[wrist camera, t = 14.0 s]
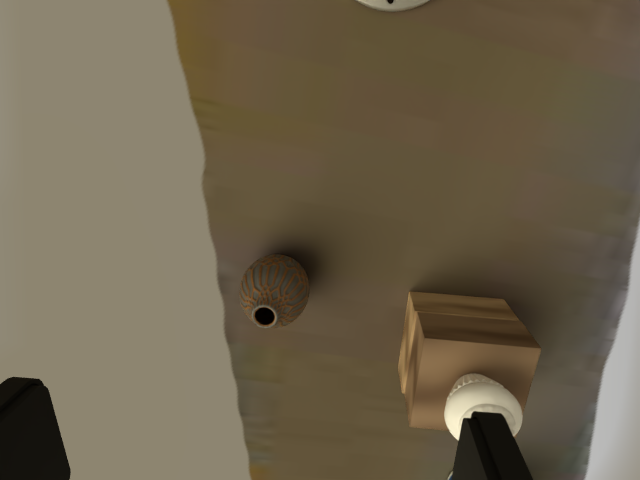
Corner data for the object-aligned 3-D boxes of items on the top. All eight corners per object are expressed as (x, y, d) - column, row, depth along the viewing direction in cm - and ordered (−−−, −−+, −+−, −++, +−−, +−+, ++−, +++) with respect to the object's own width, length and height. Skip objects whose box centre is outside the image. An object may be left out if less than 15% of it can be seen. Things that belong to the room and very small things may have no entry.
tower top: (417, 312, 40) (424, 338, 36) (521, 321, 39) (541, 348, 35) (404, 394, 43) (409, 426, 39) (500, 403, 43) (515, 437, 38)
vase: (322, 262, 43) (316, 302, 35) (296, 312, 46) (284, 361, 37) (264, 235, 43) (243, 268, 35) (240, 287, 45) (215, 330, 37)
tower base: (408, 290, 44) (414, 310, 40) (502, 297, 43) (518, 319, 39) (397, 366, 47) (402, 393, 43) (484, 374, 47) (497, 402, 43)
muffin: (446, 353, 36) (464, 409, 29) (516, 365, 36) (550, 425, 29) (431, 408, 38) (444, 472, 32) (496, 420, 38) (524, 488, 31)
